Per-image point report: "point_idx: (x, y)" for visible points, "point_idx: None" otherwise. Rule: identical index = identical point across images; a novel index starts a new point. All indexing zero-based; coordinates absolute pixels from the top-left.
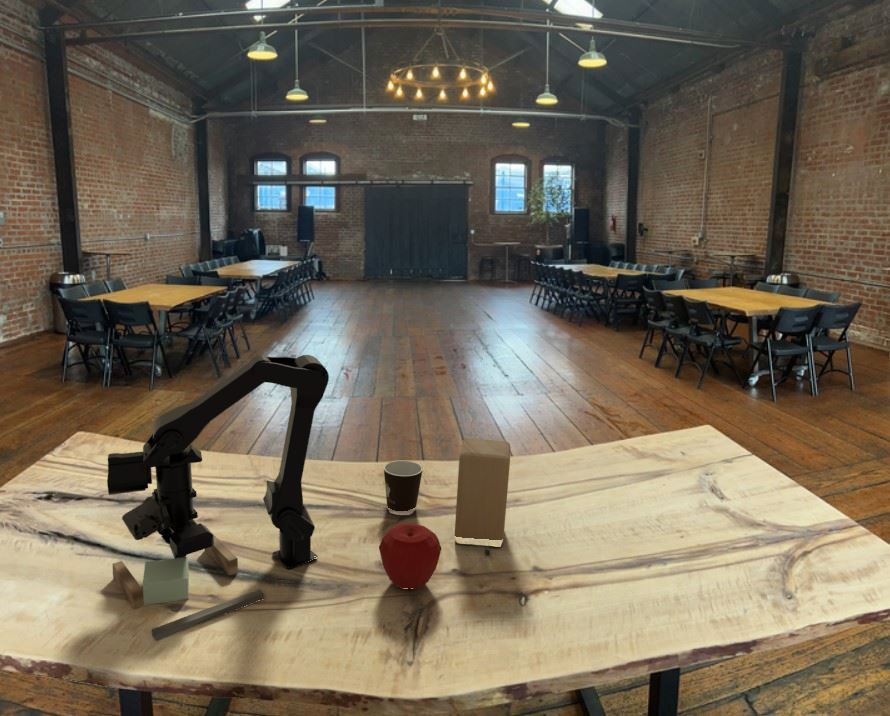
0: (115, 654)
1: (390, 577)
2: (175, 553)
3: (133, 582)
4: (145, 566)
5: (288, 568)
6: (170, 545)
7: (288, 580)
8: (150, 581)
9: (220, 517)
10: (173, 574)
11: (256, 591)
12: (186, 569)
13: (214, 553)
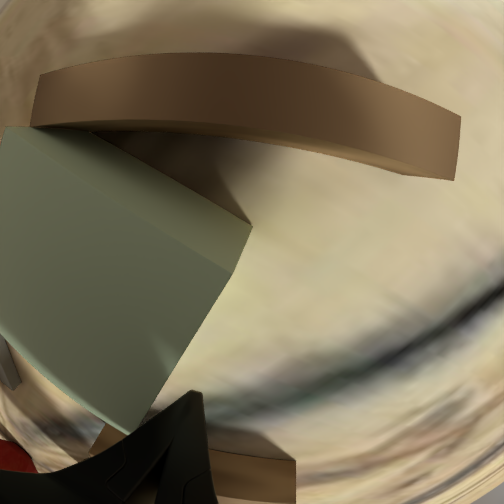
0: (5, 30)
1: (1, 448)
2: (128, 435)
3: (108, 97)
4: (158, 234)
5: (84, 459)
6: (167, 480)
7: (54, 433)
8: (2, 174)
9: (390, 496)
10: (10, 301)
11: (6, 381)
12: (31, 362)
13: (211, 469)
